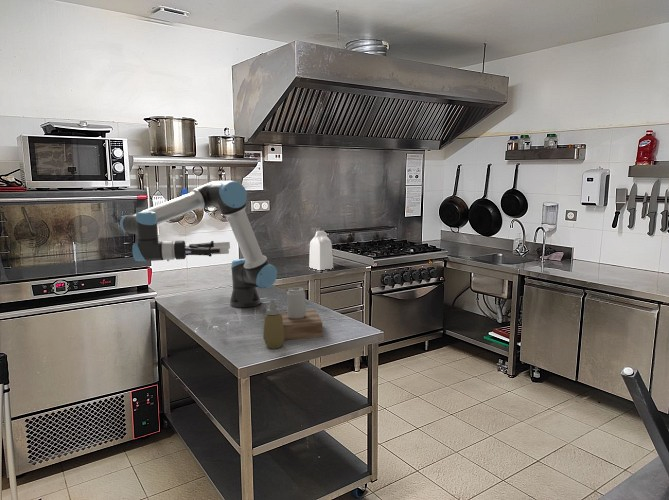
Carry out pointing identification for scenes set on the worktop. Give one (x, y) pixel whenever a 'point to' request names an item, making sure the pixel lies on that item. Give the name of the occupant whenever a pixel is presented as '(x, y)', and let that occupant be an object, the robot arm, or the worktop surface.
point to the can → (296, 303)
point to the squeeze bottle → (273, 327)
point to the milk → (320, 252)
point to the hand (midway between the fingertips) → (229, 247)
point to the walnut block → (302, 326)
